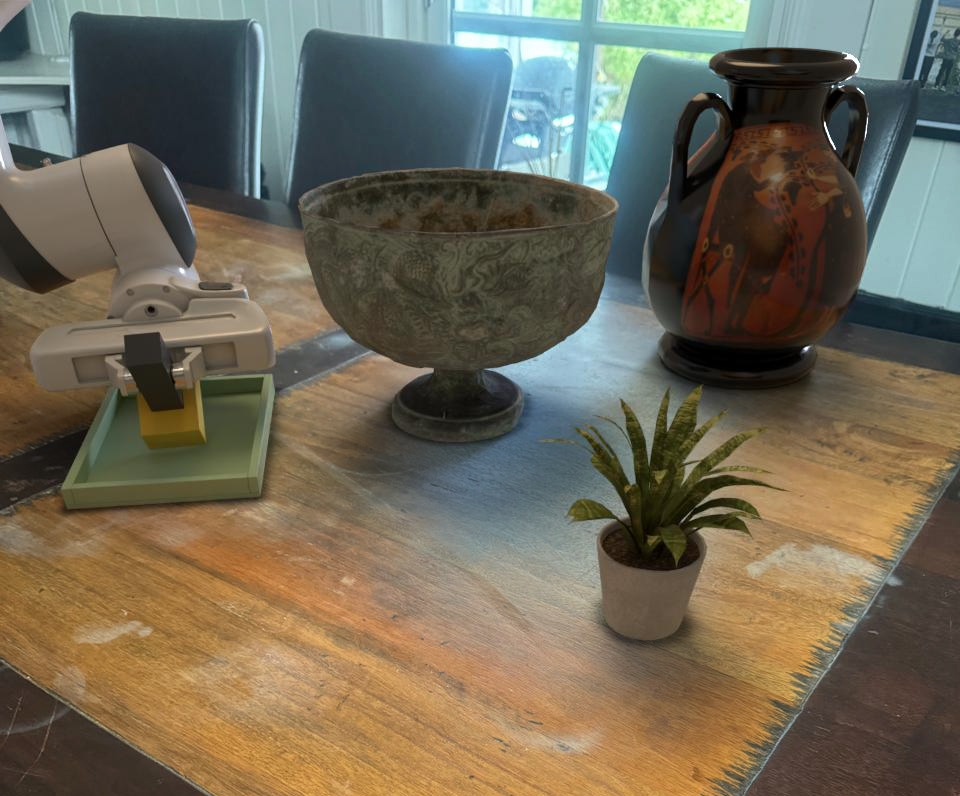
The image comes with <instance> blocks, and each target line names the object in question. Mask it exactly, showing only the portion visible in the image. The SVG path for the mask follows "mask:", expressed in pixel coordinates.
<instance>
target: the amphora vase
mask: <svg viewBox="0 0 960 796" xmlns="http://www.w3.org/2000/svg"><path fill="white" fill-rule="evenodd" d="M707 63H708V64H707V65H708V70H709V72H710V73H711V74H712V75H713V76H715V77H717V78H719V79H721V80H722V81H723V82H724V83H726V95H727V96H726V99H727V100H726V101H725V99H723V98H722V96H720V94H718V93H716V92H709V91H708V92H701V93H700V92H699V93H698V94H696V95H695V96H693V97H692V98H690V99H689V100H688V101H686V104H685V105H684V107H683V109H682V111H681V112H680V114H679V116H678V118H677V120H676V124H675V128H674V134H673V137H672V143H671V155H670V167H669V178H668V184H667V185H666V187H665V189H664V190H663V192H662V193H661V196H660V198H659V200H658V201H657V204H656V206H655V209H654V211H653V213H652V217H651V218H650V221H649V224H648V228H647V232H646V236H645V239H644V243H643V247H642V261H641V262H642V263H641V281H640V282H641V286H642V290H643V295H644V298H645V301H646V303H647V304H648V306H649V308H650V310H651V312H652V314H653V315H654V317H655V318H656V320H657V321H658V323H659V324H660V325H661V327H663V329H664V330H665V331H664V332H663V334H662V335H661V337H659V339H658V341H657V354H658V356H659V358H660V359H661V361H662V362H663V364H664V365H665V366H666V367H667V368H669V369H670V370H671V371H673V372H675V373H676V374H677V375H680V376H682V377H684V378H686V379H689V380H691V381H693V382H698V383H701V384H704V385H709V386H714V387H720V388H726V389H739V390H740V389H743V390H754V389H755V390H756V389H769V388H774V387H780V386H785V385H788V384H791V383H794V382H796V381H799V380H801V379H802V378H803V377H805V376H806V375H808V374H809V373H810V372H812V371H813V370H814V368H815V366H816V363H817V361H818V358H819V354H818V351H817V348H816V345H815V343H816V342H817V341H818V340H819V339H821V338H822V337H824V336H826V334H828V333H829V332H830V331H832V330H833V328H834V327H836V326H837V325H838V324H839V323H840V321H841V320H842V319H843V318H844V317H845V316H847V313H848V312H849V310H850V308H851V306H852V305H853V304H854V302H855V300H856V298H857V296H858V292H859V290H860V287H861V283H862V279H863V275H864V272H865V268H866V266H867V255H868V254H867V251H868V237H869V235H868V224H867V213H866V210H865V204H864V200H863V196H862V194H861V191H860V189H859V186H858V184H857V181H856V180H857V177H858V172H859V168H860V163H861V158H862V154H863V149H864V145H865V141H866V135H867V131H868V130H867V128H868V121H869V112H870V111H869V107H868V103H867V99H866V95H865V93H864V92H863V91H862V90H860V88H858V86H856V85H855V84H845V85H841V86H838V87H835V86H837V85H838V84H839V83H841V82H844V81H846V80H849V79H851V78H853V77H854V76H855V75H856V73H858V71H859V68H860V63H859V61H858V59H857V58H855V57H854V56H853V55H851V54H848V53H845V52H841V51H836V50H830V49H821V48H807V47H785V46H784V47H781V46H779V47H778V46H777V47H776V46H774V47H773V46H772V47H771V46H767V47H765V46H764V47H745V48H743V47H742V48H734V49H728V50H724V51H719V52H717V53H716V54H714V55H713V56H712V57H711V58H710V59H709V60H708V62H707ZM834 87H835V88H834ZM842 102H846V103H847V106H848V107H847V108H848V112H849V113H848V129H847V130H848V131H847V137H846V140H845V143H844V147H843V151H842V155H840V153H839V152H838V150H837V149H836V147H835V145H834V142H833V141H832V139H831V137H830V134H829V131H828V127H829V123H830V120H831V117H832V114H833V113H834V112H835V110H836V109H837V108H838V107H839V106H840V105H841V103H842ZM709 109H711V110H712V112H713V113H714V115H715V117H716V128H715V130H714V132H713V133H712V134H711V135H710V137H709V138H708V139H707V140H706V141H705V143H703V145H702V146H701V147H700V148H698V150H697V151H695V153H693V155H691V157H690V158H689V147H690V144H691V139H692V135H693V132H694V128H695V125H696V123H697V121H698V119H699V117H700V115H701V114H702V113H703V112H705V110H709Z"/></svg>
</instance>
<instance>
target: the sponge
mask: <svg viewBox="0 0 960 796" xmlns="http://www.w3.org/2000/svg"><path fill="white" fill-rule="evenodd" d="M124 346H125V356H126V367H127V368H128V370H129V372H130V374H131V375H132V377H133V379H134V381H135V383H136V384H137V386H138V388H139V390H140V394H137V399H138V410H139V420H140V430H141V436H142V438H143V440H144V441H145V443H146V445H147V446H148V448H149V449H150V450H154V449H163V448H172V447H181V446H190V445H199V444H206V435H205V426H204V417H203V408H202V399H201V390H200V381H199V379H198V380H197V381H195V382H193V387H194V388H193V389H185V390H175V386H174V380H173V377H172V371H171V369H172V367H171V364H173V360H172V358H171V356H170V354H169V352H168V349H167V347H166V345H165V343H164V341H163V338H162V336H161V334H160V332H151V333H140V334H130V335H124Z"/></svg>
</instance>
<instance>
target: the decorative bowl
mask: <svg viewBox="0 0 960 796" xmlns="http://www.w3.org/2000/svg"><path fill="white" fill-rule="evenodd" d="M297 207H298V211H299V213H300V214H299V215H300V218H301V225H302V231H303V236H302V237H303V245H304V253H305V254H304V255H305V258H306V261H307V262H308V267H309V269H310V273H311V275H312V279H313V282H314V285H315V288H316V291H317V293H318V296H319V299H320V301H321V304H322V305H323V308H324V309H325V310H326V312H327V313H328V315H329V316H330V318H331V319H332V320H333V321H334V323H335V324H337V325H338V326H339V327H341V329H342V330H343V331H344V333H346V335H347V336H348V337H349V339H351V340H352V341H354V342H355V343H357V344H359V345H360V346H362V347H364V348H366V349H368V350H370V351H372V352H374V353H376V354H378V355H380V356H382V357H385V358H387V359H389V360H391V361H392V362H394V363H398V364H400V365H402V366H405V367H410V368H416V369H425V368H427V369H433V372H429V373H425V374H423V375H420V376H417V377H416V378H414V379H413V380H411V381H409V382H408V383H407V384H405V385H404V386H403V387H401V388H400V389H399V390H398V391H397V393H396V394H395V395H394V397H393V399H392V402H391V417H392V421H393V422H394V423H395V424H396V425H397V427H398V428H400V429H401V430H403V431H404V432H406V433H408V434H410V435H412V436H416V437H419V438H422V439H427V440H431V441H438V442H439V441H440V442H447V443H448V442H450V443H452V442H453V443H462V442H463V443H464V442H465V443H466V442H475V441H480V440H487V439H492V438H496V437H498V436H501V435H505V434H507V433H509V432H511V431H512V430H513V429H514V428H515V427H516V425H517V423H518V421H519V420H520V417H521V414H522V412H523V410H524V408H525V393H524V391H523V389H522V387H521V386H520V385H519V384H518V383H516V382H515V381H514V380H512V379H510V378H509V377H507V376H506V375H504V374H503V373H500V372H498V371H495V370H490V369H499V368H503V367H506V366H510V365H516V364H519V363H522V362H525V361H529V360H532V359H535V358H538V357H539V356H541V355H543V354H544V353H545V352H547V351H549V350H551V349H552V348H554V347H556V346H557V345H559V344H560V343H562V342H564V341H565V340H567V339H568V338H569V337H570V336H573V335H574V334H576V332H578V331H579V330H580V329H581V328H582V327H584V326H585V325H586V324H587V323H588V322H589V320H590V319H591V317H592V316H593V314H594V313H595V311H596V310H597V308H598V304H599V301H600V298H601V295H602V292H603V290H604V286H605V281H606V266H607V262H608V259H609V255H610V251H611V245H612V240H613V235H614V229H615V224H616V220H617V216H618V215H617V214H618V211H619V208H620V205H619V203H618V201H617V199H615V198H614V197H613V196H612V195H610V194H608V193H607V192H605V191H603V190H601V189H600V190H599V189H597V188H594V187H591V186H588V185H585V184H582V183H578V182H575V181H574V182H573V181H570V180H567V179H562V178H558V177H553V176H549V175H544V174H538V173H531V172H530V173H528V172H519V171H510V170H501V169H490V168H468V167H455V166H454V167H421V168H411V169H395V170H394V169H393V170H387V171H386V170H385V171H379V172H378V171H377V172H370V173H363V174H362V175H354V176H352V177H349V178H341V179H338V180H335V181H332V182H327V183H324V184H321V185H319V186H317V187H316V188H312V189H310V190H308V191H307V192H305V193H303V194H302V196H300V198H299V199H298V204H297Z"/></svg>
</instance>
